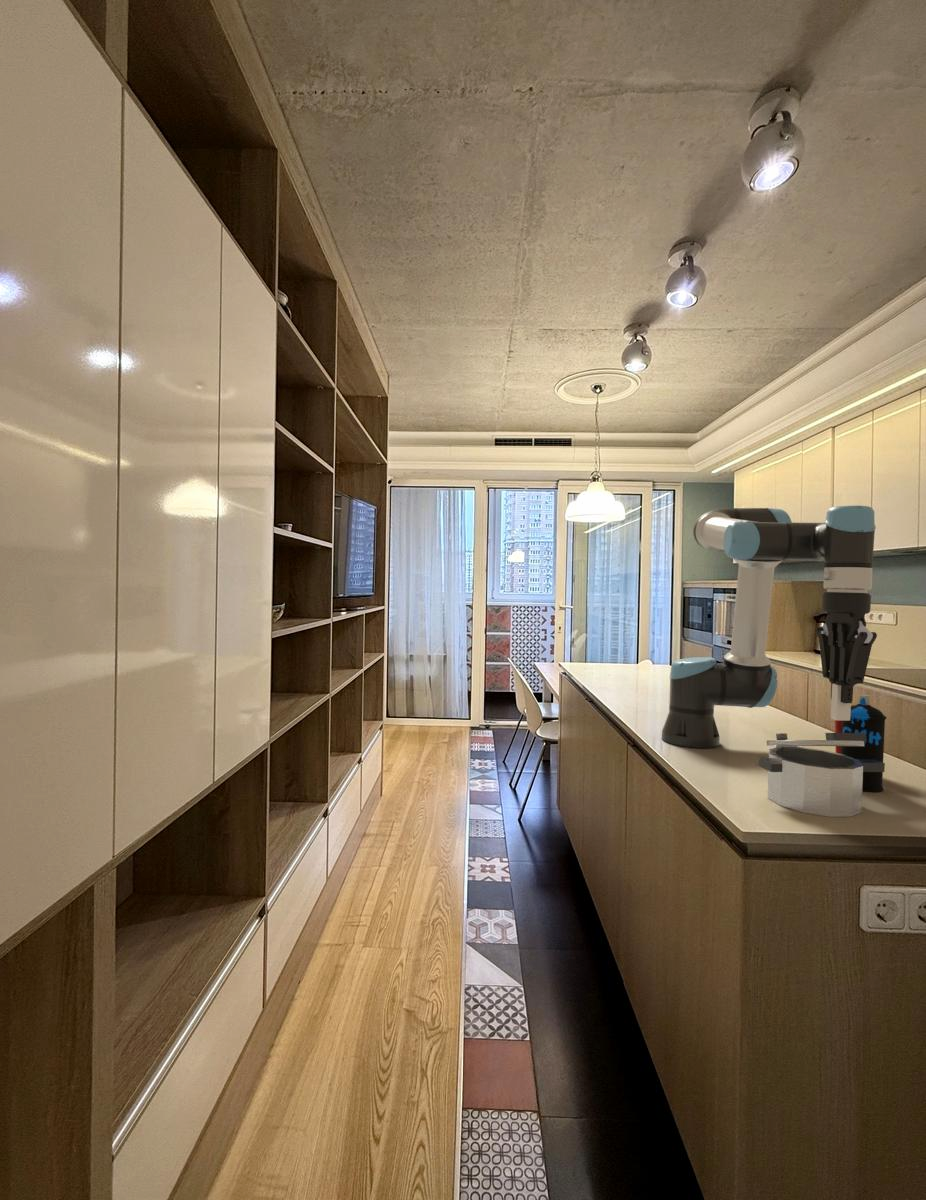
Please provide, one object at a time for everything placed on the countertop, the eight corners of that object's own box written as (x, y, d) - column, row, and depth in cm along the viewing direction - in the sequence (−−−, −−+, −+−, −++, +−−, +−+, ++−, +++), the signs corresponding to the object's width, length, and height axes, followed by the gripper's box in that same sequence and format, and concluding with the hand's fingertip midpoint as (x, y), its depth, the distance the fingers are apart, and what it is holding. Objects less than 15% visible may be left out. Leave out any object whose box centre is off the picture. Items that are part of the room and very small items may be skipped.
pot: (738, 786, 130) (739, 744, 130) (844, 786, 132) (846, 745, 132) (788, 816, 113) (789, 768, 113) (910, 816, 115) (912, 769, 115)
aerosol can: (844, 778, 139) (847, 690, 138) (887, 787, 133) (891, 696, 133) (834, 785, 133) (837, 694, 133) (878, 795, 127) (882, 700, 127)
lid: (749, 745, 130) (748, 732, 130) (833, 746, 131) (832, 734, 132) (799, 745, 113) (798, 731, 113) (896, 746, 114) (894, 732, 115)
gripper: (804, 590, 117) (798, 711, 118) (852, 591, 104) (845, 728, 105) (841, 591, 118) (835, 712, 118) (893, 592, 105) (886, 728, 105)
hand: (840, 719), depth 112 cm, fingers closed
